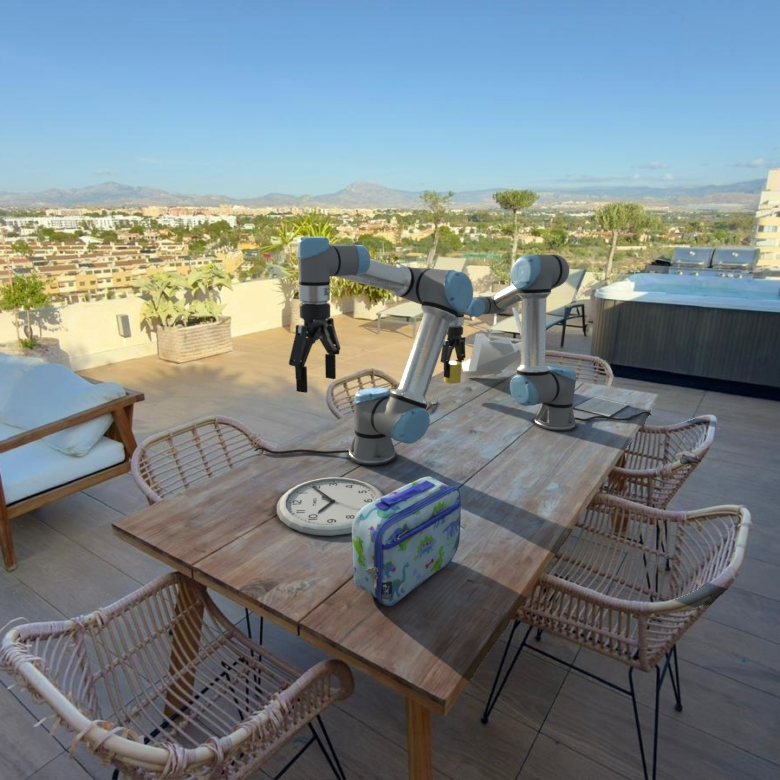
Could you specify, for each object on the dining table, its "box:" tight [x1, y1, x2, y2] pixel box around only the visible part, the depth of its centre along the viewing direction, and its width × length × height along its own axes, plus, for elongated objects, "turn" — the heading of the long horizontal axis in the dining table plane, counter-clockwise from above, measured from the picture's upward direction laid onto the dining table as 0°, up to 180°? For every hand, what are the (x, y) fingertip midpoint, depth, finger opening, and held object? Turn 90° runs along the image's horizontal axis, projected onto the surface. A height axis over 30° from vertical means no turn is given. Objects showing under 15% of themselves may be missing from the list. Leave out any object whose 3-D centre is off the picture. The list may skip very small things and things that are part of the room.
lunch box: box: [351, 476, 462, 607], centre depth 111 cm, size 26×11×21 cm, turn 135°
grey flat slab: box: [573, 396, 629, 417], centre depth 226 cm, size 21×1×15 cm
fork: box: [426, 396, 439, 412], centre depth 222 cm, size 3×16×2 cm, turn 160°
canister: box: [443, 360, 462, 384], centre depth 237 cm, size 8×8×9 cm
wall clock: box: [276, 476, 385, 537], centre depth 142 cm, size 30×2×30 cm
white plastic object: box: [461, 306, 521, 378], centre depth 259 cm, size 37×45×31 cm
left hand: (316, 384), depth 135 cm, fingers open, 13 cm apart
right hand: (452, 375), depth 237 cm, fingers closed on canister, 7 cm apart
